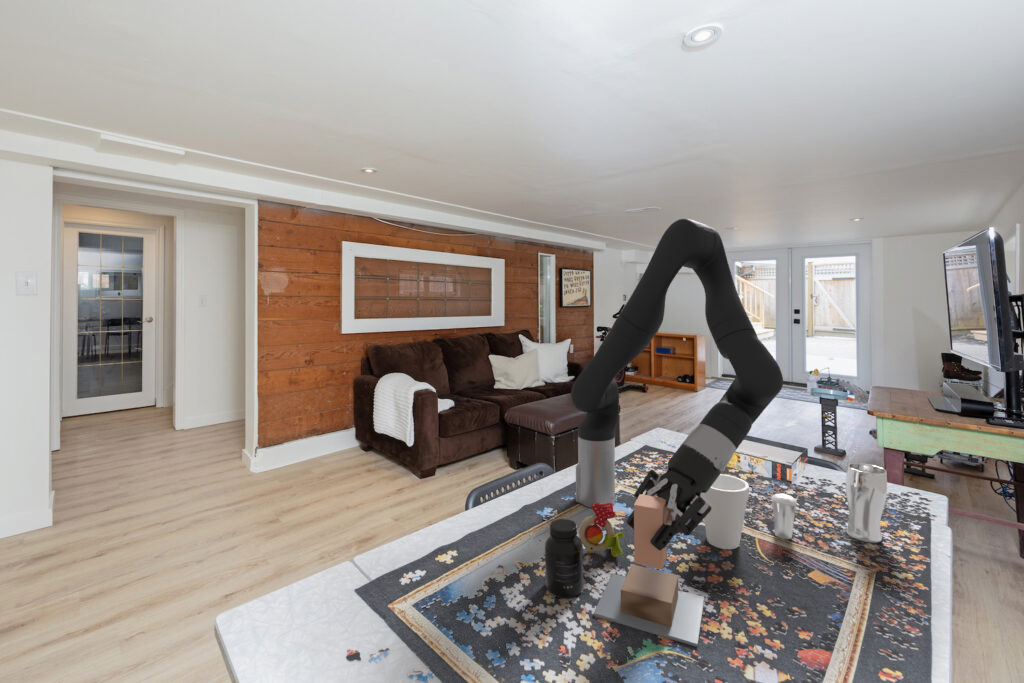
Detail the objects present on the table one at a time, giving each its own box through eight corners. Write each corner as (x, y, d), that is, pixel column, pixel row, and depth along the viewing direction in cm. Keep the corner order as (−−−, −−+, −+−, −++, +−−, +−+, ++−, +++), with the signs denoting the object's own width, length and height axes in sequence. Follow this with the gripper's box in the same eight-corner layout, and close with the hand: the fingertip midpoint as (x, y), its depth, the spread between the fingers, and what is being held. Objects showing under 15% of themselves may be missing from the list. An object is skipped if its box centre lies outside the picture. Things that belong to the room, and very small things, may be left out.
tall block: (634, 563, 76) (633, 504, 75) (640, 549, 80) (639, 494, 79) (662, 569, 74) (662, 509, 73) (667, 555, 78) (667, 498, 77)
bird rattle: (592, 571, 92) (634, 554, 91) (569, 522, 91) (611, 505, 90) (589, 554, 98) (628, 538, 97) (567, 508, 97) (607, 491, 96)
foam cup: (711, 526, 104) (712, 470, 103) (754, 541, 97) (756, 482, 96) (691, 541, 98) (691, 482, 97) (735, 558, 91) (736, 495, 90)
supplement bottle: (542, 577, 86) (541, 516, 85) (578, 574, 87) (577, 514, 86) (548, 601, 80) (547, 535, 79) (587, 598, 80) (586, 532, 79)
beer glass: (878, 531, 100) (882, 464, 99) (889, 546, 94) (892, 476, 93) (840, 525, 103) (843, 460, 102) (847, 540, 97) (851, 471, 96)
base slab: (620, 612, 76) (620, 589, 75) (631, 585, 83) (631, 564, 82) (671, 627, 72) (671, 603, 72) (678, 597, 79) (678, 575, 79)
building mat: (593, 615, 76) (593, 612, 76) (612, 576, 86) (612, 573, 86) (697, 647, 68) (697, 643, 68) (704, 599, 79) (704, 596, 79)
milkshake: (803, 542, 97) (804, 496, 96) (775, 540, 98) (776, 495, 97) (794, 531, 101) (795, 487, 100) (768, 529, 102) (769, 486, 101)
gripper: (662, 432, 84) (605, 505, 81) (720, 457, 70) (654, 545, 68) (686, 457, 86) (632, 528, 84) (747, 485, 72) (684, 572, 70)
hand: (642, 536), depth 76 cm, fingers closed on tall block, 6 cm apart
